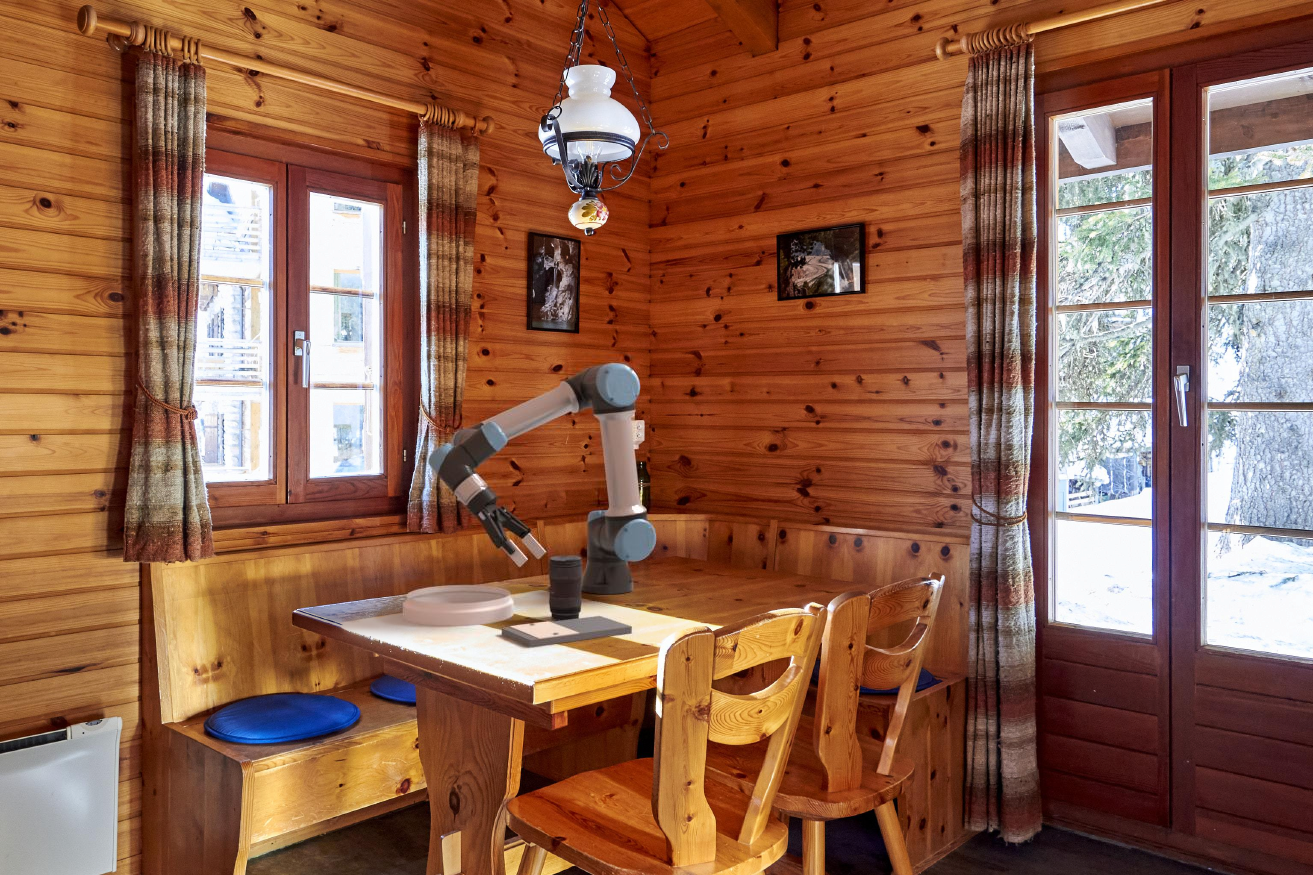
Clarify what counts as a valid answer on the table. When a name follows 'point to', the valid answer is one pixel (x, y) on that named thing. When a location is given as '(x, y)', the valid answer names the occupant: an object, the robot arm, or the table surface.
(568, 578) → the camera lens
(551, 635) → the board
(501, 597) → the white round tray
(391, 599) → the table surface
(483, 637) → the table surface
